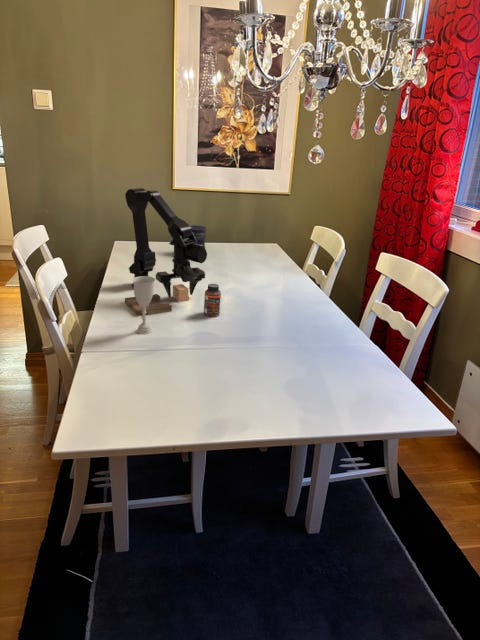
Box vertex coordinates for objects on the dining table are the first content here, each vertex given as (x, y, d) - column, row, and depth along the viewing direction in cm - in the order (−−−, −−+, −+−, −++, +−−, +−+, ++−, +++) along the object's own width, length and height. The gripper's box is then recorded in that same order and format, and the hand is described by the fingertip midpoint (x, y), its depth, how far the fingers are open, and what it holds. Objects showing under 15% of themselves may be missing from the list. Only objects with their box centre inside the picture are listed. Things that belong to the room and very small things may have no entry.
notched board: (124, 303, 185) (124, 298, 184) (157, 298, 191) (157, 293, 190) (137, 316, 174) (137, 310, 173) (171, 311, 180) (171, 306, 179)
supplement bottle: (205, 317, 177) (206, 287, 172) (202, 311, 182) (203, 282, 178) (221, 316, 178) (223, 287, 174) (217, 310, 184) (219, 282, 179)
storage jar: (183, 254, 254) (183, 225, 248) (200, 253, 258) (201, 225, 252) (189, 259, 245) (190, 230, 240) (207, 258, 249) (209, 229, 244)
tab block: (172, 297, 194) (172, 285, 192) (181, 295, 196) (182, 283, 194) (178, 302, 190) (179, 289, 188) (188, 300, 192) (188, 288, 190)
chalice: (146, 325, 167) (145, 274, 160) (159, 331, 163) (159, 279, 156) (128, 331, 162) (127, 279, 155) (142, 337, 158) (141, 284, 151)
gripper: (166, 265, 176) (166, 306, 182) (212, 261, 185) (210, 299, 191) (155, 257, 184) (155, 296, 190) (199, 253, 194) (198, 290, 200)
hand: (180, 296), depth 193 cm, fingers open, 9 cm apart
